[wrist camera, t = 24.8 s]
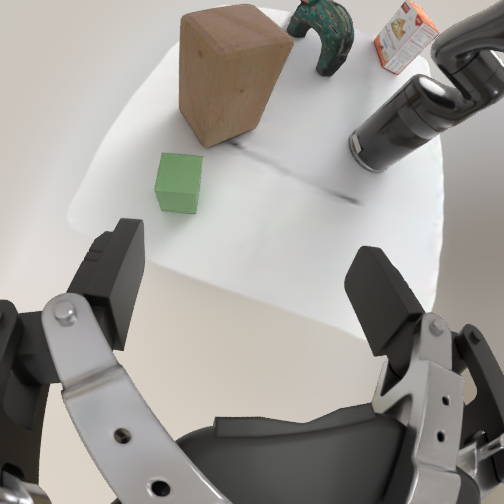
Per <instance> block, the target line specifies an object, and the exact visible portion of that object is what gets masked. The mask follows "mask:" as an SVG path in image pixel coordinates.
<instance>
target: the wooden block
mask: <svg viewBox="0 0 504 504" xmlns="http://www.w3.org/2000/svg"><path fill="white" fill-rule="evenodd" d="M292 47H293V40H292V38H291V37H290V36H289V35H288V34H287V33H286V32H285V31H284V30H283V29H281V28H280V27H279V26H278V25H277V24H276V23H275V22H273V21H272V20H271V19H270V18H269V17H267V16H266V15H265V14H264V13H263V12H261V11H260V10H259V9H258V8H256V7H255V6H253V5H250V4H241V5H232V6H225V7H218V8H213V9H208V10H202V11H197V12H192V13H188V14H185V15H184V16H182V18H181V25H180V51H179V109H180V111H181V112H182V114H183V115H184V117H185V119H186V120H187V122H188V123H189V125H190V126H191V128H192V130H193V131H194V133H195V134H196V136H197V137H198V139H199V141H200V142H201V144H202V145H203V146H204V147H206V148H207V147H211V146H213V145H216V144H218V143H220V142H222V141H225V140H227V139H230V138H232V137H234V136H237V135H239V134H242V133H244V132H247V131H249V130H252V129H254V128H255V127H256V126H257V125H258V123H259V120H260V118H261V116H262V113H263V111H264V109H265V106H266V104H267V102H268V100H269V97H270V95H271V93H272V90H273V88H274V86H275V84H276V82H277V79H278V77H279V75H280V73H281V71H282V68H283V66H284V64H285V62H286V60H287V58H288V56H289V53H290V51H291V49H292Z"/></svg>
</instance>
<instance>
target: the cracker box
mask: <svg viewBox="0 0 504 504" xmlns="http://www.w3.org/2000/svg"><path fill="white" fill-rule="evenodd" d="M438 34H439V32H438V30H437V29H436V27H435V25H434V24H433V23H432V21H431V20H430V18H429V17H428V15H427V14H426V13H425V11H424V10H423V9H422V8H421V7H419V6H418V5H416V4H415V3H413V2H412V1H410V0H406V1H405V2H404V3H403V5H402V6H401V7H400V9H399V10H398V11H397V12H396V13H395V15H394V16H393V17H392V18H391V20H390V21H389V22H388V23H387V25H386V26H385V27H384V29H383V30H382V31H381V32H380V34H379V35H378V36H377V37H376V39H375V40H374V42H375V45H376V48H377V51H378V54H379V57H380V60H381V64H382V67H383V68H385V69H387V70H389V71H391V72H393V73H395V74H397V75H399V74H400V73H401V72H402V71H403V70H404V69H405V68H406V67H407V66H408V65H409V64H410V63H411V62H412V61H413V60H414V59H415V58H416V57H417V56H418V55H419V53H420V52H421V51H422V50H423V49H424V48H425V47H426V46H427V45H428V44H429V43H430V42H431V41H432V40H433V39H435V38H436V37H437V36H438Z"/></svg>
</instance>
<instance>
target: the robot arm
mask: <svg viewBox="0 0 504 504" xmlns="http://www.w3.org/2000/svg"><path fill="white" fill-rule="evenodd" d="M494 51H499V52H503V53H504V0H500V1H499V2H497V3H495V4H494V5H492V6H490V7H489V8H487V9H485V10H483V11H481V12H479V13H477V14H474V15H472V16H470V17H468V18H466V19H464V20H462V21H460V22H458V23H456V24H454V25H453V26H451V27H449V28H448V29H446V30H445V31H444V32H442V33H441V34H440V35H439V36H438V37H437V38H436V39H435V41H434V43H433V44H432V47H431V58H432V60H433V62H434V63H435V65H436V66H437V67H438V69H439V70H440V71H441V72H442V73H443V74H444V75H445V76H446V77H447V78H448V79H449V80H450V81H451V83H452V84H453V85H454V86H455V87H456V88H453V87H449V86H446V85H444V84H441V83H440V82H438V81H436V80H434V79H432V78H430V77H428V76H426V75H422V74H417V75H414V76H413V77H411V78H410V79H409V80H408V81H407V82H406V83H405V84H404V85H403V86H402V87H401V88H400V89H399V90H398V91H397V92H396V93H395V94H394V95H393V96H392V97H391V98H389V99H388V100H387V101H386V102H385V103H384V104H383V105H382V106H381V107H380V108H379V109H378V110H377V111H376V112H375V113H374V114H373V115H372V116H371V117H370V118H369V119H367V120H366V121H365V122H364V123H363V124H362V125H361V126H360V127H359V128H358V129H357V130H355V131H354V132H353V133H352V134H351V136H350V140H349V144H350V149H351V152H352V154H353V156H354V157H355V159H356V160H357V161H358V163H359V164H360V165H361V166H363V167H364V168H365V169H367V170H369V171H371V172H375V173H380V172H383V171H384V170H386V169H387V168H388V167H390V166H391V165H393V164H394V163H396V162H397V161H399V160H400V159H402V158H404V157H405V156H407V155H408V154H410V153H411V152H413V151H414V150H416V149H417V148H419V147H420V146H422V145H424V144H425V143H427V142H428V141H430V140H431V139H433V138H434V137H436V136H437V135H439V134H440V133H442V132H443V131H445V130H446V129H448V128H450V127H453V126H456V125H458V124H460V123H461V122H463V121H465V120H466V119H468V118H469V117H471V116H473V115H475V114H477V113H479V112H481V111H483V110H484V109H486V108H488V107H490V106H492V105H493V104H495V103H497V102H498V101H499V100H500V99H502V98H503V97H504V63H503V62H502V61H501V59H500V58H499V57H498V56H497V54H496V53H495V52H494ZM144 266H145V249H144V223H143V220H140V219H129V218H121V219H120V220H119V222H118V224H117V226H116V227H115V229H114V231H113V232H109V231H105V232H104V233H103V234H101V235H100V236H99V237H97V238H96V239H95V240H94V242H93V244H92V245H91V247H90V249H89V252H87V254H86V256H85V258H84V261H82V263H81V265H80V267H79V269H78V270H77V272H76V274H75V276H74V278H73V280H72V282H71V284H70V286H69V288H68V290H67V292H66V293H64V294H60V295H58V296H56V297H54V298H52V299H51V300H50V301H49V302H48V303H47V304H46V305H45V307H44V309H43V311H37V312H28V313H18V312H17V310H16V308H15V306H14V304H13V303H12V302H10V301H8V300H0V504H52V503H51V501H50V499H49V497H48V496H47V494H46V493H45V492H44V491H43V490H42V489H41V488H40V487H39V484H38V482H39V458H40V445H41V436H42V428H43V421H44V414H45V408H46V402H47V397H48V392H49V387H50V384H51V383H62V386H63V390H62V391H61V395H62V399H63V402H64V404H65V406H66V409H67V411H68V413H69V416H70V418H71V420H72V422H73V424H74V426H75V428H76V430H77V432H78V434H79V436H80V438H81V440H82V442H83V443H84V446H85V447H86V449H87V451H88V453H89V454H90V456H91V458H92V460H93V461H94V463H95V464H96V466H97V468H98V469H99V471H100V473H101V474H102V475H103V477H104V479H105V480H106V482H107V483H108V485H109V486H110V488H111V489H112V490H113V492H114V493H115V494H116V496H117V498H116V499H115V500H114V501H113V502H112V503H111V504H481V500H483V498H485V497H486V496H487V495H488V494H490V493H491V492H492V491H493V490H494V489H495V488H496V487H497V486H499V485H501V484H503V483H504V375H503V373H502V371H501V369H500V367H499V365H498V363H497V361H496V359H495V357H494V355H493V353H492V351H491V349H490V347H489V346H488V344H487V342H486V340H485V338H484V337H483V335H482V333H481V332H480V331H479V330H478V329H477V328H476V327H475V326H473V325H470V324H466V325H465V326H464V327H463V328H462V330H461V331H460V332H459V333H456V332H452V331H450V328H449V326H448V325H447V323H446V322H445V321H444V320H443V319H442V318H441V317H439V316H438V315H436V314H434V313H425V311H424V309H423V308H422V306H421V304H420V303H419V301H418V300H417V298H416V297H415V295H414V293H413V292H412V290H411V289H410V288H409V286H408V284H407V283H406V281H404V278H403V277H402V275H401V274H400V272H399V271H398V270H397V269H396V268H395V267H394V266H393V265H392V263H391V262H390V261H389V259H388V258H387V256H386V255H385V254H384V252H383V251H382V250H381V249H380V248H377V247H370V246H362V247H360V249H359V250H358V252H357V254H356V256H355V258H354V260H353V262H352V264H351V266H350V268H349V270H348V272H347V274H346V277H345V282H344V287H345V291H346V293H347V296H348V298H349V300H350V302H351V304H352V306H353V309H354V311H355V313H356V315H357V318H358V320H359V322H360V324H361V327H362V329H363V331H364V334H365V336H366V338H367V341H368V343H369V345H370V348H371V350H372V352H373V355H374V356H383V355H387V357H388V358H387V359H386V360H385V361H384V363H383V366H382V369H381V373H380V377H379V380H378V383H377V387H376V390H375V393H374V397H373V400H372V402H371V403H367V404H362V405H357V406H351V407H346V408H340V409H338V410H336V411H333V412H331V413H329V414H327V415H324V416H322V417H320V418H317V419H315V420H312V421H310V422H307V423H296V422H288V421H282V420H276V419H270V418H265V417H215V420H214V423H213V426H210V427H205V428H201V429H198V430H196V431H193V432H190V433H188V434H186V435H184V436H182V437H181V438H179V439H177V440H176V441H174V440H173V439H172V437H171V436H170V435H169V434H168V432H167V431H166V430H165V428H164V427H163V426H162V424H161V423H160V421H159V420H158V419H157V417H156V416H155V415H154V413H153V412H152V410H151V409H150V407H149V406H148V405H147V403H146V402H145V400H144V399H143V397H142V395H141V394H140V393H139V391H138V389H137V388H136V386H135V385H134V383H133V382H132V380H131V378H130V377H129V375H128V373H127V372H126V370H125V369H124V367H123V366H122V365H120V364H119V363H118V361H117V359H116V357H115V356H114V354H113V349H114V350H120V351H124V346H125V342H126V337H127V333H128V329H129V325H130V320H131V317H132V312H133V309H134V305H135V301H136V297H137V294H138V290H139V287H140V283H141V280H142V276H143V272H144ZM467 367H468V369H469V371H470V373H471V376H472V378H473V380H474V382H475V385H476V387H477V395H476V397H475V399H474V400H473V401H472V402H470V403H469V404H468V405H465V403H464V379H463V377H462V376H461V375H460V374H461V373H462V372H463V371H464V370H465V369H466V368H467ZM483 431H484V432H485V433H484V434H482V432H483Z"/></svg>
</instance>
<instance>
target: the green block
mask: <svg viewBox="0 0 504 504" xmlns="http://www.w3.org/2000/svg"><path fill="white" fill-rule="evenodd" d="M202 158H203V157H202V156H193V155H183V154H172V153H162V156H161V160H160V165H159V170H158V175H157V180H156V185H155V193H156V196H157V199H158V202H159V205H160V207H161V210H162V211H171V212H182V213H192V214H196V210H197V202H198V195H199V187H200V179H201V168H202Z"/></svg>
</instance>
